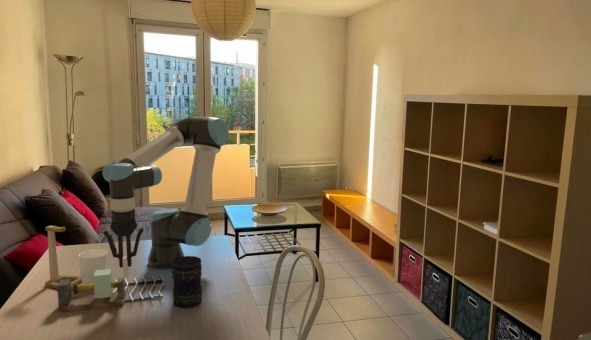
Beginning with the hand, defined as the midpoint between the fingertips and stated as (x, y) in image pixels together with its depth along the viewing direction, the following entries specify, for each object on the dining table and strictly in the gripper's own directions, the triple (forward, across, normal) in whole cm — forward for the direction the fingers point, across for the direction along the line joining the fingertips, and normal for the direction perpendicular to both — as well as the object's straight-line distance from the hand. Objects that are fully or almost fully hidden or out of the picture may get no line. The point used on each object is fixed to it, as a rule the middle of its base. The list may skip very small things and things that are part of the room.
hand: (126, 275), depth 146 cm
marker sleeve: (+6, +7, 0) cm, 9 cm away
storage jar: (+9, -20, +7) cm, 23 cm away
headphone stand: (+9, +24, -20) cm, 32 cm away
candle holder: (+9, +13, -17) cm, 23 cm away
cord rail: (+9, +11, 0) cm, 14 cm away
